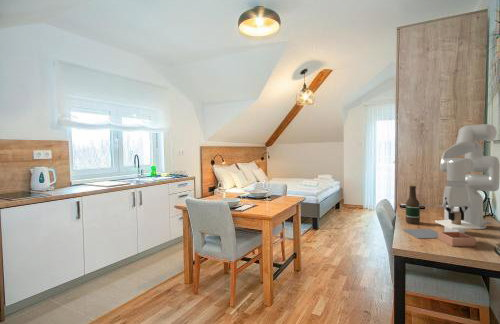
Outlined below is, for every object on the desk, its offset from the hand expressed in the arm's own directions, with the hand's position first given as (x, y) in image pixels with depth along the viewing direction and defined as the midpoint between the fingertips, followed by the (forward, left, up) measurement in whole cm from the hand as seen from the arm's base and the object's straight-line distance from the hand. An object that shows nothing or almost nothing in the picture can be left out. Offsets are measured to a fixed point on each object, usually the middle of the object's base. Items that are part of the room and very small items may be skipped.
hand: (456, 219), depth 140 cm
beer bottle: (+1, -38, -12) cm, 40 cm away
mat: (+7, -15, -12) cm, 20 cm away
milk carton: (-11, -17, -12) cm, 23 cm away
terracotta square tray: (0, 0, -12) cm, 12 cm away
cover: (0, 0, -3) cm, 3 cm away
